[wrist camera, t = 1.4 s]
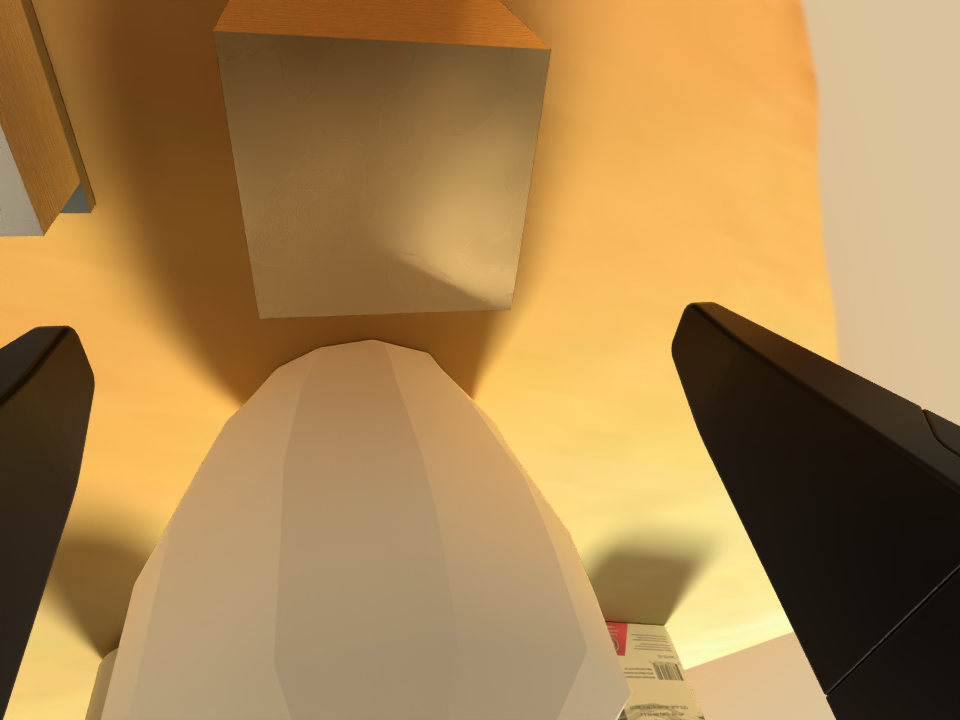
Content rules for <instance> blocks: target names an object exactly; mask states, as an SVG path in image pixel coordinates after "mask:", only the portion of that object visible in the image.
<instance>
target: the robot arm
mask: <svg viewBox="0 0 960 720" xmlns="http://www.w3.org/2000/svg"><path fill="white" fill-rule="evenodd" d="M672 357H673V360H674V363H675V366H676V369H677V372H678V375H679V378H680V380H681V383H682V386H683V389H684V392H685V395H686V398H687V401H688V403H689V406H690V409H691V412H692V415H693V418H694V421H695V423H696V426H697V428H698V431H699V433H700V436H701V438H702V440H703V442H704V445H705V447H706V449H707V451H708V453H709V455H710V457H711V459H712V461H713V463H714V465H715V467H716V470H717V472H718V474H719V476H720V478H721V480H722V482H723V484H724V486H725V488H726V490H727V492H728V495H729V497H730V499H731V501H732V503H733V505H734V507H735V509H736V511H737V513H738V515H739V517H740V520H741V522H742V524H743V526H744V528H745V530H746V532H747V534H748V536H749V538H750V540H751V542H752V545H753V547H754V549H755V551H756V553H757V555H758V557H759V559H760V561H761V563H762V565H763V567H764V570H765V572H766V574H767V576H768V578H769V580H770V582H771V584H772V586H773V588H774V590H775V592H776V595H777V597H778V599H779V601H780V603H781V605H782V607H783V609H784V611H785V613H786V615H787V617H788V620H789V622H790V624H791V626H792V628H793V630H794V632H795V634H796V636H797V638H798V640H799V642H800V644H801V647H802V648H803V651H804V653H805V655H806V657H807V659H808V661H809V663H810V665H811V667H812V670H813V672H814V674H815V676H816V678H817V680H818V682H819V684H820V686H821V688H822V690H823V692H824V694H826V695H827V696H826V699H827V702H828V704H829V706H830V708H831V710H832V712H833V714H834V716H835V718H836V720H960V426H958V425H956V424H954V423H952V422H950V421H948V420H946V419H944V418H942V417H940V416H938V415H936V414H935V413H933V412H931V411H928V410H926V409H924V410H922V409H921V407H920V406H918V405H916V404H914V403H913V402H910V401H909V400H906V399H905V398H902V397H901V396H898V395H897V394H895V393H892V392H891V391H889V390H887V389H885V388H883V387H881V386H879V385H877V384H875V383H873V382H871V381H869V380H867V379H865V378H863V377H861V376H859V375H857V374H855V373H853V372H851V371H849V370H847V369H845V368H843V367H841V366H839V365H837V364H835V363H833V362H831V361H829V360H827V359H825V358H823V357H821V356H819V355H818V354H816V353H814V352H812V351H810V350H808V349H806V348H804V347H802V346H800V345H798V344H796V343H794V342H792V341H790V340H788V339H786V338H784V337H782V336H780V335H778V334H776V333H774V332H772V331H770V330H768V329H766V328H764V327H762V326H760V325H758V324H756V323H754V322H752V321H750V320H748V319H746V318H744V317H742V316H740V315H738V314H736V313H734V312H732V311H730V310H728V309H726V308H724V307H722V306H721V305H719V304H717V303H714V302H697V303H691V304H689V305H687V307H686V308H685V309H684V312H683V314H682V317H681V320H680V322H679V325H678V328H677V331H676V333H675V336H674V339H673V342H672ZM94 387H95V382H94V375H93V371H92V369H91V366H90V364H89V361H88V359H87V356H86V354H85V351H84V349H83V346H82V344H81V341H80V339H79V336H78V334H77V333H76V331H75V330H74V329H73V328H71V327H69V326H43V327H36V328H34V329H32V330H30V331H29V332H27V333H25V334H24V335H22V336H20V337H19V338H17V339H16V340H14V341H12V342H11V343H9V344H8V345H6V346H4V347H3V348H1V349H0V720H3V718H4V715H5V712H6V709H7V705H8V702H9V699H10V696H11V693H12V690H13V687H14V683H15V680H16V677H17V674H18V671H19V668H20V665H21V661H22V658H23V655H24V652H25V649H26V646H27V643H28V640H29V636H30V633H31V630H32V627H33V624H34V621H35V618H36V614H37V611H38V608H39V605H40V602H41V599H42V596H43V592H44V589H45V586H46V583H47V580H48V577H49V574H50V570H51V567H52V564H53V561H54V558H55V555H56V552H57V548H58V545H59V542H60V539H61V536H62V533H63V530H64V526H65V523H66V520H67V517H68V514H69V511H70V508H71V504H72V501H73V498H74V494H75V491H76V487H77V483H78V479H79V474H80V469H81V463H82V458H83V452H84V446H85V440H86V435H87V429H88V423H89V417H90V412H91V406H92V400H93V394H94Z"/></svg>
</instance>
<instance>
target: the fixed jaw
mask: <svg viewBox="0 0 960 720" xmlns="http://www.w3.org/2000/svg"><path fill="white" fill-rule="evenodd" d="M79 184H80V179H79V176H78V173H77V170H76V167H75V164H74V161H73V158H72V155H71V152H70V149H69V146H68V143H67V140H66V137H65V134H64V131H63V128H62V125H61V122H60V118H59V115H58V112H57V109H56V106H55V103H54V100H53V97H52V94H51V91H50V88H49V85H48V82H47V79H46V76H45V73H44V70H43V67H42V64H41V61H40V58H39V55H38V52H37V49H36V46H35V43H34V39H33V36H32V33H31V30H30V27H29V24H28V21H27V18H26V15H25V12H24V9H23V6H22V3H21V0H0V236H44V235H45V234H46V232H47V231H48V229H49V228H50V226H51V225H52V223H53V222H54V220H55V219H56V217H57V216H58V215H59V213H60V212H61V210H62V209H63V207H64V206H65V204H66V203H67V201H68V200H69V198H70V197H71V195H72V194H73V193H74V191H75V190H76V188H77V187H78V185H79Z"/></svg>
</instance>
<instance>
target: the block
mask: <svg viewBox="0 0 960 720" xmlns="http://www.w3.org/2000/svg"><path fill="white" fill-rule="evenodd" d="M213 35H214V41H215V47H216V54H217V60H218V66H219V72H220V78H221V85H222V91H223V97H224V103H225V109H226V116H227V122H228V128H229V134H230V140H231V147H232V153H233V159H234V165H235V171H236V178H237V184H238V190H239V196H240V202H241V209H242V215H243V221H244V227H245V233H246V240H247V246H248V252H249V258H250V264H251V271H252V277H253V283H254V289H255V295H256V302H257V308H258V314H259V319H264V318H291V317H319V316H346V315H374V314H402V313H429V312H457V311H484V310H511V307H512V300H513V293H514V287H515V280H516V274H517V267H518V261H519V254H520V248H521V241H522V235H523V228H524V222H525V215H526V208H527V202H528V195H529V189H530V182H531V176H532V169H533V163H534V156H535V150H536V143H537V137H538V130H539V123H540V117H541V110H542V104H543V97H544V91H545V84H546V78H547V71H548V65H549V58H550V52H551V49H550V48H549V47H548V46H547V45H546V44H545V43H544V42H542V41H541V40H540V39H539V38H538V37H537V36H536V35H535V34H534V33H533V32H532V31H531V30H530V29H529V28H528V27H527V26H526V25H524V24H523V23H522V22H521V21H520V20H519V19H518V18H517V17H516V16H515V15H514V14H513V13H512V12H511V11H510V10H509V9H508V8H506V7H505V6H504V5H503V4H502V3H501V2H500V1H499V0H229V1H228V3H227V5H226V7H225V9H224V11H223V13H222V15H221V16H220V18H219V20H218V22H217V24H216V26H215V28H214V30H213Z"/></svg>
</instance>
